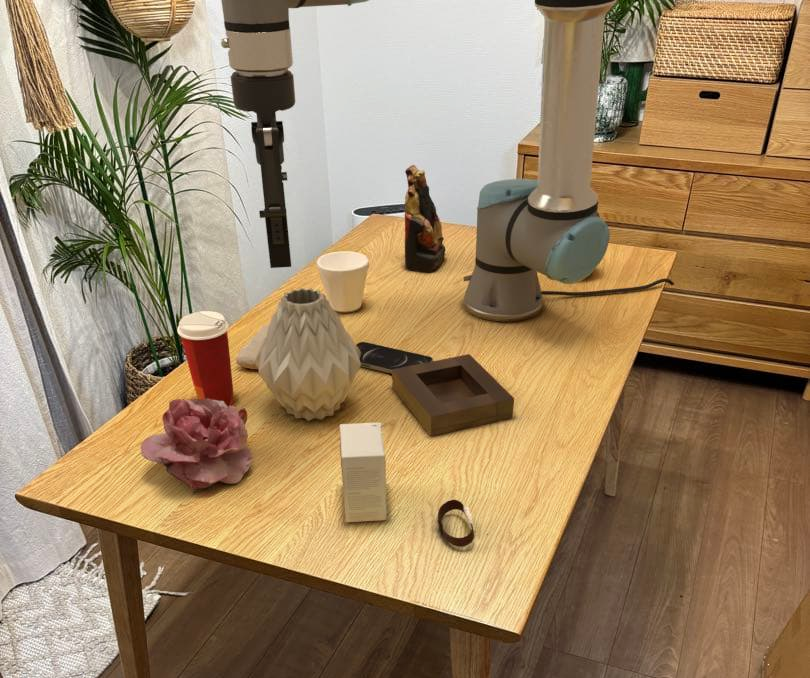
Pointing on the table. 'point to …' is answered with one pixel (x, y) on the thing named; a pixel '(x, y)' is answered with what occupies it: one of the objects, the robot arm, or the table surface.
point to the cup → (343, 279)
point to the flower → (201, 442)
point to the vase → (308, 356)
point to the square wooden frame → (452, 394)
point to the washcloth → (252, 349)
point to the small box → (363, 472)
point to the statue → (421, 225)
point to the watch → (459, 506)
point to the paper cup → (208, 355)
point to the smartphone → (388, 357)
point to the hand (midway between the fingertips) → (279, 248)
